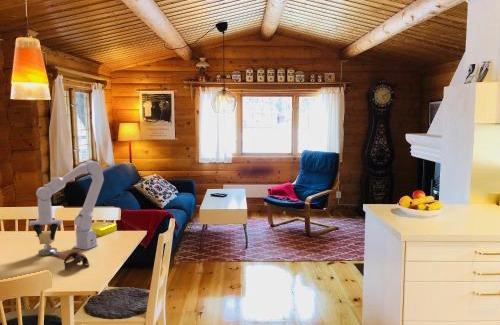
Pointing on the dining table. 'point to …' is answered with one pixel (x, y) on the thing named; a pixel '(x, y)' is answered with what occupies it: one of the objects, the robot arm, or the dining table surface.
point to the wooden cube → (45, 237)
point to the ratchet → (52, 252)
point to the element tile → (103, 228)
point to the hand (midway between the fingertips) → (47, 239)
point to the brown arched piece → (75, 259)
